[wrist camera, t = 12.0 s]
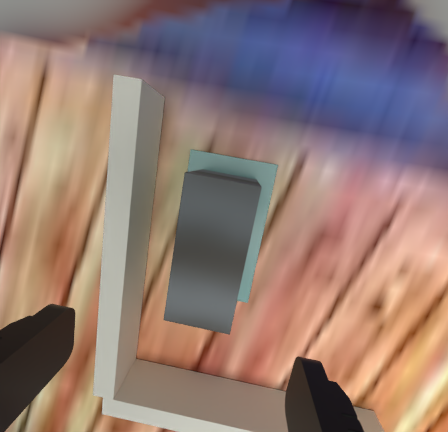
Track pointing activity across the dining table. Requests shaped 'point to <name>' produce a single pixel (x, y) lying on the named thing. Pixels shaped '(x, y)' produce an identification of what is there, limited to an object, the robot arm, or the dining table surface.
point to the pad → (266, 179)
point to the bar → (211, 248)
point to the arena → (133, 295)
